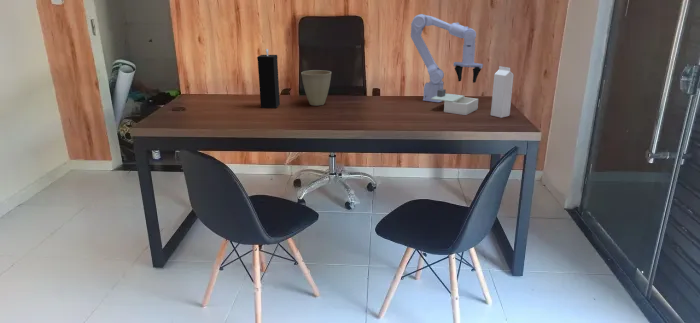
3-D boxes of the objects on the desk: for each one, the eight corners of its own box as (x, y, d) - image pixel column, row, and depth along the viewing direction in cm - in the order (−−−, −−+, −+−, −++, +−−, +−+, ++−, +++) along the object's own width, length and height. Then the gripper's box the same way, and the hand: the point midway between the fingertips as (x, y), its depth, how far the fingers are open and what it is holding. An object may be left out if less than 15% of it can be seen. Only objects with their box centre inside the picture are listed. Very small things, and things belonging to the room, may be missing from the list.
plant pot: (331, 107, 241) (330, 74, 236) (300, 107, 241) (299, 74, 236) (332, 100, 255) (332, 69, 250) (304, 100, 255) (302, 69, 250)
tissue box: (280, 104, 247) (277, 47, 238) (276, 108, 240) (273, 49, 230) (264, 104, 248) (261, 47, 238) (260, 108, 240) (256, 49, 231)
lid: (430, 99, 233) (431, 91, 232) (443, 94, 244) (444, 87, 243) (452, 102, 227) (453, 94, 226) (464, 96, 238) (465, 89, 237)
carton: (443, 111, 231) (444, 101, 229) (456, 106, 242) (456, 96, 240) (466, 115, 225) (466, 104, 223) (477, 109, 236) (478, 98, 234)
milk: (501, 118, 220) (506, 68, 213) (490, 115, 225) (494, 66, 217) (509, 115, 224) (514, 67, 216) (498, 113, 228) (503, 65, 220)
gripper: (451, 54, 243) (450, 81, 247) (479, 56, 235) (477, 84, 240) (457, 52, 248) (455, 79, 253) (485, 54, 240) (483, 82, 245)
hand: (467, 81), depth 247 cm, fingers open, 7 cm apart
